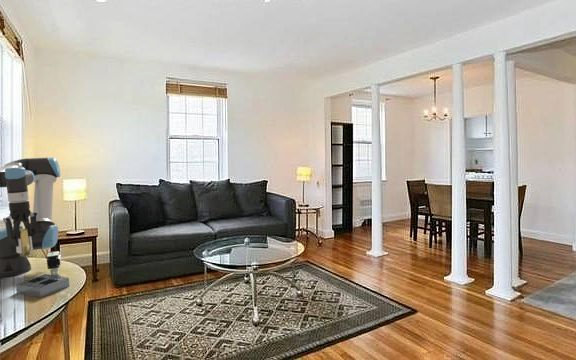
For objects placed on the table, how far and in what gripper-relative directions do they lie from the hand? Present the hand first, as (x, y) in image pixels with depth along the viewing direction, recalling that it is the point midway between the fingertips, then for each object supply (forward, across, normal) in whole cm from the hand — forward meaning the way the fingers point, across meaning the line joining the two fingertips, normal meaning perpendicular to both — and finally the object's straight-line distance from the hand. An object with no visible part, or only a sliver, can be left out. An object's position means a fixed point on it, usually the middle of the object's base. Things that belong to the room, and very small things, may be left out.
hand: (24, 251), depth 166 cm
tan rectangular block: (+2, 0, 0) cm, 2 cm away
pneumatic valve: (+17, +14, +1) cm, 22 cm away
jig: (+16, -1, -12) cm, 20 cm away
